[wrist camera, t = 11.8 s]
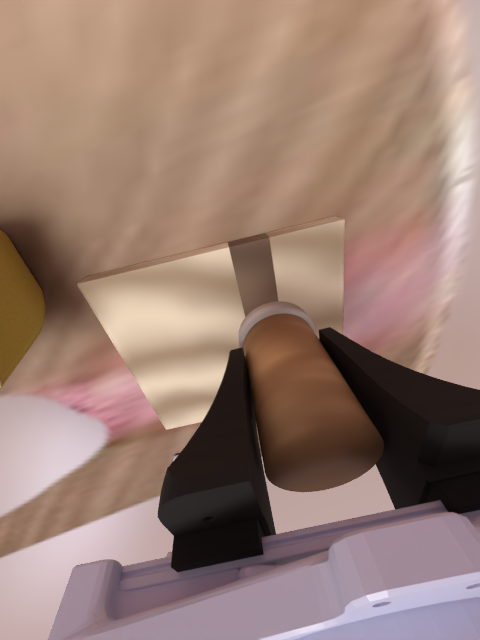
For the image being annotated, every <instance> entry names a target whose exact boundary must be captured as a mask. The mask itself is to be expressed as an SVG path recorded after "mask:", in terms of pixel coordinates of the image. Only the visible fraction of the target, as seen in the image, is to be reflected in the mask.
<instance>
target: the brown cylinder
mask: <svg viewBox="0 0 480 640" xmlns="http://www.w3.org/2000/svg"><path fill="white" fill-rule="evenodd" d="M238 340H239V347H240V348H243V352H244V356H245V360H246V365H247V371H248V378H249V384H250V389H251V395H252V400H253V406H254V412H255V417H256V423H257V429H258V434H259V440H260V446H261V451H262V457H263V462H264V468H265V473H266V476H267V478H268V480H269V481H270V482H271V483H272V484H274V485H275V486H277V487H279V488H282V489H285V490H289V491H296V492H312V491H320V490H326V489H330V488H333V487H337V486H340V485H343V484H345V483H348V482H350V481H352V480H354V479H356V478H358V477H360V476H361V475H363V474H364V473H366V472H367V471H368V470H370V469H371V468H372V467H373V466H374V465H375V464H376V463H377V461H378V460H379V459H380V457H381V455H382V453H383V450H384V441H383V438H382V437H381V435H380V434H379V432H378V430H377V429H376V427H375V426H374V424H373V423H372V421H371V420H370V418H369V416H368V415H367V413H366V412H365V410H364V409H363V407H362V406H361V404H360V402H359V401H358V399H357V398H356V396H355V395H354V393H353V392H352V390H351V388H350V387H349V385H348V384H347V382H346V381H345V379H344V378H343V376H342V374H341V373H340V371H339V370H338V368H337V367H336V365H335V364H334V362H333V360H332V359H331V357H330V356H329V354H328V353H327V351H326V350H325V348H324V346H323V345H322V343H321V342H320V340H319V339H318V337H317V331H316V328H315V326H314V324H313V322H312V321H311V319H310V318H309V316H308V315H307V313H306V312H305V311H304V310H303V309H302V308H300V307H299V306H297V305H295V304H293V303H289V302H283V301H276V302H270V303H266V304H263V305H261V306H259V307H257V308H256V309H254V310H253V311H251V312H250V313H249V314H248V315H247V316H246V317H245V319H244V320H243V322H242V323H241V325H240V328H239V332H238Z"/></svg>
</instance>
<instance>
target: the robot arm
mask: <svg viewBox="0 0 480 640" xmlns="http://www.w3.org/2000/svg"><path fill="white" fill-rule="evenodd" d="M319 340H320V342H321V343H322V345H323V346H324V348H325V350H326V351H327V353H328V354H329V356H330V357H331V359H332V360H333V362H334V364H335V365H336V367H337V368H338V370H339V371H340V373H341V374H342V376H343V378H344V379H345V381H346V382H347V384H348V385H349V387H350V388H351V390H352V392H353V393H354V395H355V396H356V398H357V399H358V401H359V402H360V404H361V406H362V407H363V409H364V410H365V412H366V413H367V415H368V416H369V418H370V420H371V421H372V423H373V424H374V426H375V427H376V429H377V430H378V432H379V434H380V435H381V437H382V438H383V441H384V450H383V453H382V455H381V457H380V459H379V460H378V461H377V463H376V466H377V468H378V470H379V472H380V475H381V477H382V479H383V481H384V484H385V486H386V488H387V491H388V493H389V495H390V498H391V500H392V503H393V505H394V507H395V510H391V511H386V512H381V513H377V514H372V515H367V516H362V517H357V518H352V519H348V520H343V521H338V522H333V523H328V524H324V525H319V526H314V527H309V528H305V529H300V530H295V531H290V532H285V533H281V534H276V532H275V527H274V522H273V517H272V512H271V507H270V501H269V496H268V491H267V486H266V481H265V476H264V471H263V465H262V460H261V454H260V449H259V443H258V437H257V428H256V417H255V412H254V406H253V400H252V395H251V389H250V384H249V378H248V371H247V365H246V360H245V356H244V352H243V348H237V349H233V350H231V351H230V352H229V358H228V362H227V366H226V370H225V373H224V376H223V379H222V382H221V384H220V387H219V389H218V392H217V394H216V397H215V399H214V401H213V403H212V405H211V407H210V409H209V411H208V412H207V414H206V416H205V418H204V419H203V421H202V423H201V424H200V426H199V428H198V429H197V431H196V432H195V434H194V435H193V436H192V438H191V439H190V441H189V442H188V444H187V445H186V446H185V448H184V449H183V450H182V451H181V453H180V454H179V455H175V456H174V459H173V460H174V461H173V462H172V464H171V465H170V466H169V467H168V468H167V471H166V475H165V478H164V482H163V486H162V490H161V495H160V503H159V508H158V518H159V520H160V521H161V522H162V524H163V525H164V526H165V527H166V528H167V529H168V530H169V531H170V532H171V533H172V534H173V535H174V541H173V551H172V552H169V553H168V554H167V556H166V557H165V558H161V559H156V560H151V561H146V562H142V563H137V564H132V565H127V566H122V565H121V564H120V563H119V562H118V561H116V560H100V561H96V562H91V563H86V564H81V565H77V566H75V567H74V568H73V570H72V573H71V576H70V578H69V581H68V584H67V587H66V590H65V593H64V595H63V598H62V601H61V604H60V607H59V610H58V612H57V615H56V618H55V621H54V624H53V626H52V629H51V632H50V635H49V638H48V640H480V390H477V389H473V388H469V387H465V386H461V385H457V384H454V383H450V382H447V381H443V380H440V379H437V378H433V377H431V376H428V375H425V374H422V373H419V372H416V371H414V370H411V369H408V368H406V367H404V366H401V365H399V364H397V363H394V362H392V361H390V360H387V359H385V358H383V357H381V356H379V355H377V354H375V353H373V352H371V351H370V350H368V349H366V348H364V347H362V346H361V345H359V344H357V343H355V342H354V341H352V340H350V339H349V338H347V337H346V336H344V335H342V334H341V333H339V332H338V331H336V330H334V329H333V328H331V327H328V328H324V329H320V330H319Z"/></svg>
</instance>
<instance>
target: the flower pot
mask: <svg viewBox="0 0 480 640" xmlns="http://www.w3.org/2000/svg"><path fill="white" fill-rule="evenodd" d="M44 319H45V301H44V296H43V292H42V289H41V288H40V286H39V285H38V283H37V281H36V280H35V278H34V277H33V275H32V274H31V272H30V271H29V269H28V268H27V266H26V265H25V263H24V261H23V260H22V258H21V256H20V255H19V253H18V252H17V250H16V249H15V247H14V245H13V244H12V242H11V240H10V239H9V237H8V236H7V235H6V234H5V233H4V232H3V231H1V230H0V388H1V387H2V386H3V384H4V383H5V381H6V380H7V379H8V377H9V376H10V375H11V373H12V372H13V371H14V369H15V368H16V366H17V365H18V364H19V362H20V361H21V359H22V358H23V357H24V355H25V354H26V352H27V351H28V350H29V348H30V347H31V345H32V344H33V343H34V341H35V339H36V338H37V336H38V335H39V333H40V331H41V328H42V326H43V323H44Z"/></svg>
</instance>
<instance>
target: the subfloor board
mask: <svg viewBox="0 0 480 640" xmlns="http://www.w3.org/2000/svg"><path fill="white" fill-rule="evenodd" d="M344 228H345V219H343V218H340V217H337V216H334V217H330V218H326V219H322V220H318V221H314V222H309V223H305V224H301V225H297V226H293V227H289V228H285V229H281V230H276V231H272V232H268V233H264V234H260V235H256V236H252V237H248V238H244V239H239V240H235V241H231V242H227V243H223V244H219V245H215V246H211V247H207V248H202V249H198V250H194V251H190V252H186V253H182V254H178V255H174V256H169V257H165V258H161V259H157V260H153V261H149V262H145V263H141V264H137V265H132V266H128V267H124V268H120V269H116V270H112V271H108V272H104V273H100V274H95V275H91V276H87V277H85V278H84V279H82V280H81V281H80V282H79V283H78V284H77V285H78V287H79V289H80V290H81V292H82V294H83V295H84V297H85V298H86V300H87V302H88V303H89V305H90V307H91V308H92V310H93V311H94V313H95V315H96V316H97V318H98V320H99V321H100V323H101V324H102V326H103V328H104V329H105V331H106V333H107V334H108V336H109V337H110V339H111V341H112V342H113V344H114V346H115V347H116V349H117V350H118V352H119V354H120V355H121V357H122V359H123V360H124V362H125V363H126V365H127V367H128V368H129V370H130V372H131V373H132V375H133V376H134V378H135V380H136V381H137V383H138V385H139V386H140V388H141V389H142V391H143V393H144V394H145V396H146V398H147V399H148V401H149V402H150V404H151V406H152V407H153V409H154V411H155V412H156V414H157V415H158V417H159V419H160V420H161V422H162V424H163V425H164V427H165V428H166V430H167V429H171V428H176V427H180V426H185V425H189V424H194V423H198V422H202V421H203V419H204V418H205V416H206V414H207V412H208V411H209V409H210V407H211V405H212V403H213V401H214V399H215V397H216V394H217V392H218V389H219V387H220V384H221V382H222V379H223V376H224V373H225V370H226V366H227V362H228V358H229V352H230V351H231V350H233V349H237V348H240V347H239V340H238V332H239V328H240V325H241V323H242V322H243V320H244V319H245V317H246V316H247V315H248V314H249V313H250V312H251V311H253V310H254V309H256V308H257V307H259V306H261V305H263V304H266V303H270V302H276V301H283V302H289V303H293V304H295V305H297V306H299V307H300V308H302V309H303V310H304V311H305V312H306V313H307V315H308V316H309V318H310V319H311V321H312V322H313V324H314V326H315V328H316V331H317V337H318V339H319V330H320V329H324V328H328V327H331V328H333V329H334V330H336V331H338V332H339V333H341V334H342V335H343V294H344Z"/></svg>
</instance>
